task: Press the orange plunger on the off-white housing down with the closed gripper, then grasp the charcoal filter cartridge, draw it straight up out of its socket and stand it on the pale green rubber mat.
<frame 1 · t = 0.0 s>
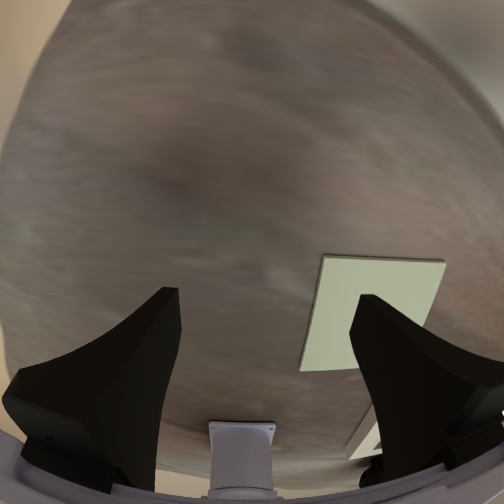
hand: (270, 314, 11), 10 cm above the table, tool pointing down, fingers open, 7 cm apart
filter: (371, 458, 39), on the table
mat: (373, 318, 24), on the table
housing: (403, 408, 32), on the table
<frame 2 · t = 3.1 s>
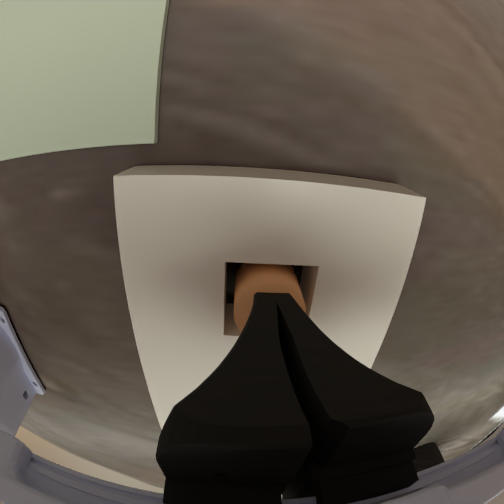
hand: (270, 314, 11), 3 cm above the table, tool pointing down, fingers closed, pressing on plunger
plunger: (267, 296, 12), point 2 cm above the table, slide at 1.2 cm, touching gripper
mat: (55, 39, 8), on the table
housing: (257, 343, 16), on the table
travel mug: (412, 455, 27), on the table
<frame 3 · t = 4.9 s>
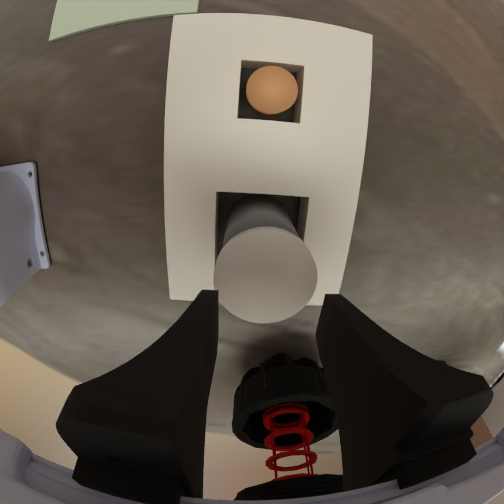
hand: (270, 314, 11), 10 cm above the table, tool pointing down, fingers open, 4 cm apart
plunger: (270, 91, 15), point 2 cm above the table, slide at 1.2 cm
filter: (268, 357, 26), on the table
housing: (262, 160, 19), on the table
travel mug: (424, 378, 30), on the table
cartridge: (258, 224, 21), resting in housing
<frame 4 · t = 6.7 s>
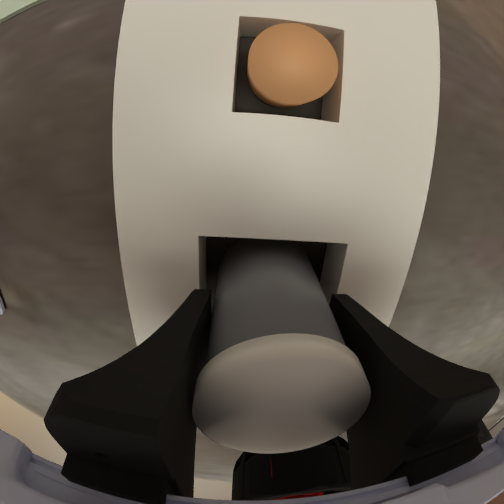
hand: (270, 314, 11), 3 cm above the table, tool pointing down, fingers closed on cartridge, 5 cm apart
plunger: (288, 68, 8), point 2 cm above the table, slide at 1.2 cm
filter: (274, 419, 20), on the table
housing: (273, 180, 12), on the table
travel mug: (445, 419, 23), on the table
cartridge: (264, 273, 14), resting in housing, touching gripper
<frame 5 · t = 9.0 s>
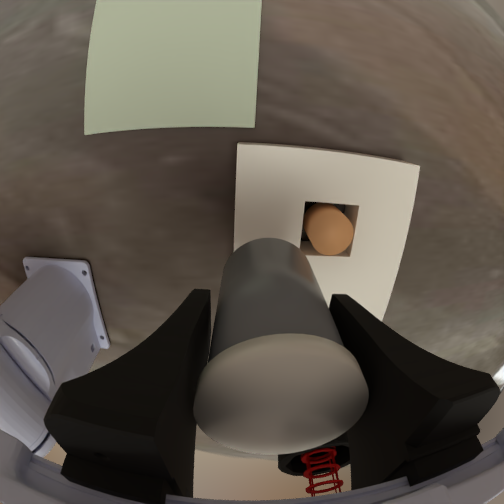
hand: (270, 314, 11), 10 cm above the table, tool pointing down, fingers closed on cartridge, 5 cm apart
plunger: (327, 227, 19), point 2 cm above the table, slide at 1.2 cm
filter: (301, 404, 30), on the table
mat: (168, 45, 15), on the table
housing: (311, 273, 22), on the table
cartridge: (267, 280, 14), point 7 cm above the table, touching gripper
when the fingers open (5 cm above the table, at t = 11.4 s): cartridge stays where it is, resting on mat.
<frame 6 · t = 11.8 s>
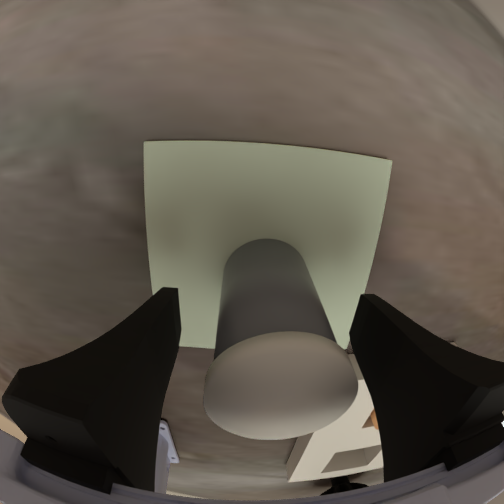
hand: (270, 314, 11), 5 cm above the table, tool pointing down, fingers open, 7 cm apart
plunger: (386, 408, 19), point 2 cm above the table, slide at 1.2 cm
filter: (332, 477, 30), on the table
mat: (263, 260, 15), on the table
housing: (362, 419, 23), on the table
cartridge: (265, 277, 15), point 1 cm above the table, touching mat
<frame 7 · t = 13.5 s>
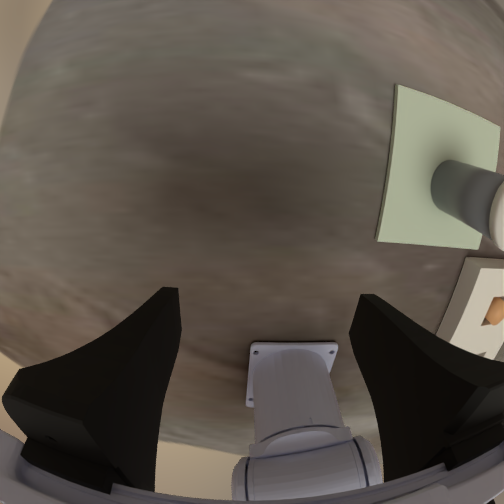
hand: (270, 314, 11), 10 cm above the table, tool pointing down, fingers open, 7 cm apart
plunger: (493, 308, 23), point 2 cm above the table, slide at 1.2 cm
mat: (447, 175, 19), on the table
housing: (469, 331, 26), on the table
cartridge: (450, 186, 19), resting on mat
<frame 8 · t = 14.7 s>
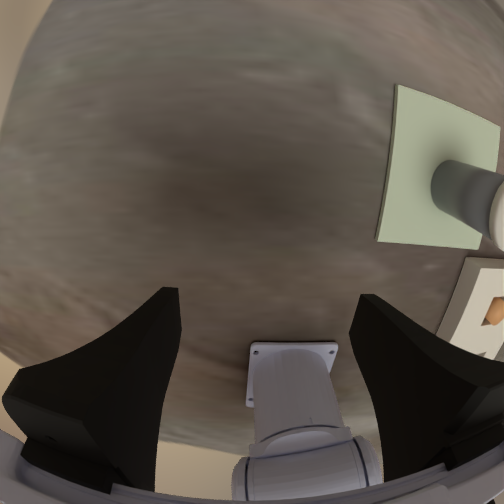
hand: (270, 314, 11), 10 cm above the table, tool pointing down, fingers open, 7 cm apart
plunger: (493, 308, 23), point 2 cm above the table, slide at 1.2 cm
mat: (447, 175, 19), on the table
housing: (469, 331, 26), on the table
cartridge: (450, 186, 19), resting on mat
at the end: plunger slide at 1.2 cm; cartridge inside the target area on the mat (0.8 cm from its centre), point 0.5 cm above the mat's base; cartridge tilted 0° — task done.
